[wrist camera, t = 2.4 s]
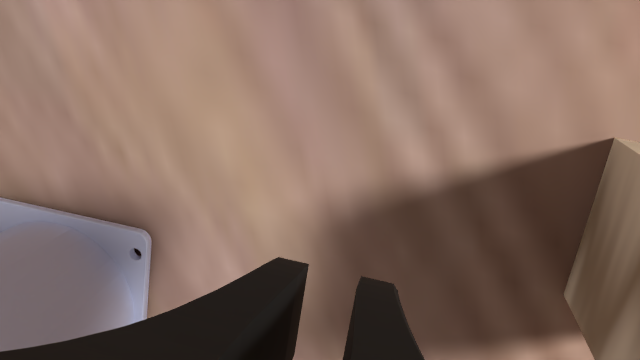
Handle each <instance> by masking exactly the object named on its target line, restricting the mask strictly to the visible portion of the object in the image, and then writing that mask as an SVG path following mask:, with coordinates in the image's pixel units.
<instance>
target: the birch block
mask: <svg viewBox="0 0 640 360" xmlns="http://www.w3.org/2000/svg"><path fill="white" fill-rule="evenodd" d="M563 295H564V297H565V299H566V301H567V303H568V305H569V307H570V309H571V311H572V313H573V315H574V317H575V320H576V322H577V324H578V326H579V328H580V330H581V332H582V334H583V336H584V338H585V340H586V342H587V344H588V346H589V348H590V351H591V353H592V355H593V357H594V359H595V360H640V142H635V141H630V140H624V139H619V138H614V141H613V144H612V147H611V150H610V153H609V156H608V159H607V162H606V165H605V168H604V171H603V175H602V178H601V181H600V184H599V187H598V190H597V193H596V196H595V199H594V202H593V205H592V208H591V211H590V214H589V218H588V221H587V224H586V227H585V230H584V233H583V236H582V239H581V242H580V245H579V248H578V251H577V254H576V258H575V261H574V264H573V267H572V270H571V273H570V276H569V279H568V282H567V285H566V288H565V291H564V294H563Z"/></svg>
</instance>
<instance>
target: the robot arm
mask: <svg viewBox="0 0 640 360" xmlns="http://www.w3.org/2000/svg"><path fill="white" fill-rule="evenodd" d="M151 243H152V242H151V237H150V235H149V234H148V233H147V232H146V231H145V230H143V229H140V228H135V227H131V226H126V225H122V224H117V223H113V222H108V221H104V220H100V219H95V218H91V217H86V216H82V215H77V214H73V213H68V212H64V211H59V210H55V209H50V208H46V207H41V206H37V205H33V204H28V203H24V202H19V201H15V200H10V199H6V198H1V197H0V360H292V359H293V356H294V353H295V346H296V340H297V334H298V328H299V321H300V315H301V309H302V303H303V296H304V290H305V284H306V278H307V271H308V265H309V264H306V263H301V262H297V261H293V260H288V259H284V258H280V257H278V258H276V259H274V260H272V261H270V262H268V263H266V264H264V265H262V266H261V267H259V268H257V269H255V270H253V271H252V272H250V273H248V274H246V275H244V276H242V277H241V278H239V279H237V280H235V281H233V282H231V283H229V284H227V285H225V286H223V287H222V288H220V289H218V290H215V291H213V292H211V293H209V294H207V295H204V296H202V297H200V298H198V299H196V300H193V301H191V302H189V303H187V304H184V305H182V306H180V307H178V308H175V309H173V310H170V311H168V312H165V313H162V314H160V315H157V316H154V317H151V318H148V319H147V306H148V290H149V275H150V259H151ZM134 248H136V249H138V250H139V251H140V252H141V256H138V255H137V254H136V253H135V251H134ZM343 360H425V359H424V357H423V355H422V353H421V351H420V350H419V347H418V345H417V343H416V341H415V339H414V336H413V334H412V332H411V330H410V328H409V325H408V323H407V320H406V317H405V315H404V312H403V309H402V306H401V303H400V300H399V296H398V290H397V289H396V287H395V286H394V284H392V283H388V282H384V281H379V280H375V279H371V278H366V277H362V276H361V279H360V281H359V284H358V286H357V289H356V295H355V300H354V305H353V310H352V315H351V320H350V326H349V331H348V336H347V341H346V346H345V351H344V357H343Z"/></svg>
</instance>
